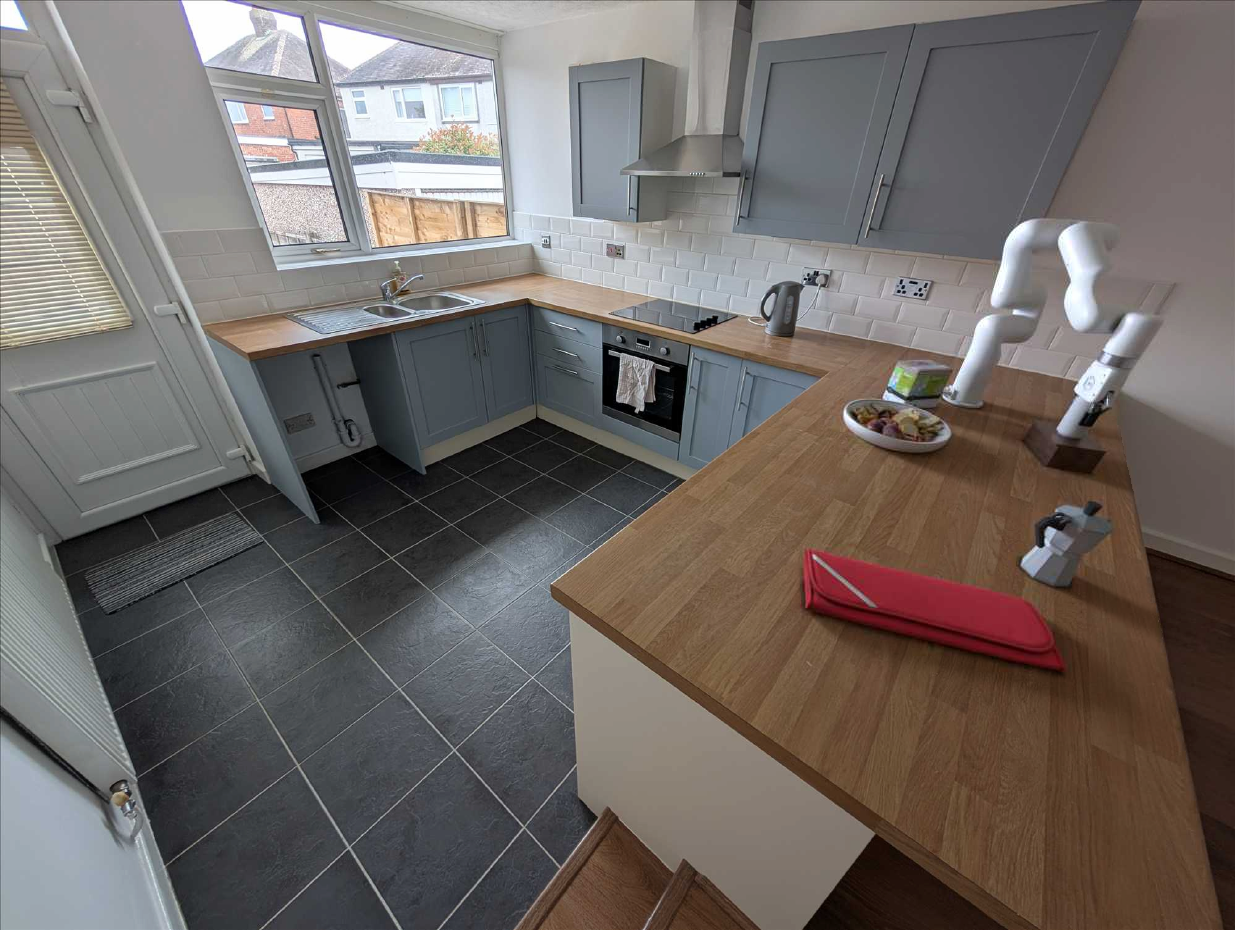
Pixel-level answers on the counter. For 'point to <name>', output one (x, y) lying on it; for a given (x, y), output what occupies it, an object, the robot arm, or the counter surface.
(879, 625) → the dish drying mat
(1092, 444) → the chest lid
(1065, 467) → the chest
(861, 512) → the counter surface
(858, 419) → the bowl
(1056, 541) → the coffee maker
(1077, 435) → the beverage can
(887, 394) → the tea box
